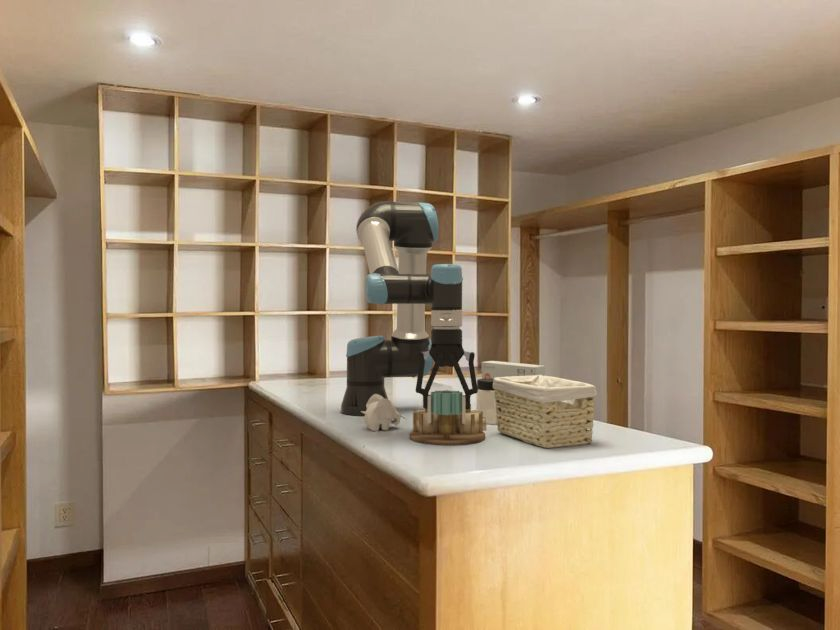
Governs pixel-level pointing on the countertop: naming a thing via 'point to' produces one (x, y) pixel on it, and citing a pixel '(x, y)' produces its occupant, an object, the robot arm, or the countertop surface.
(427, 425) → the carrier
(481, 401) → the jar
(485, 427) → the stand
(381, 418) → the elephant figurine
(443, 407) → the gear
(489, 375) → the skincare box
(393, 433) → the countertop surface
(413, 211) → the robot arm
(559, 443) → the storage basket
